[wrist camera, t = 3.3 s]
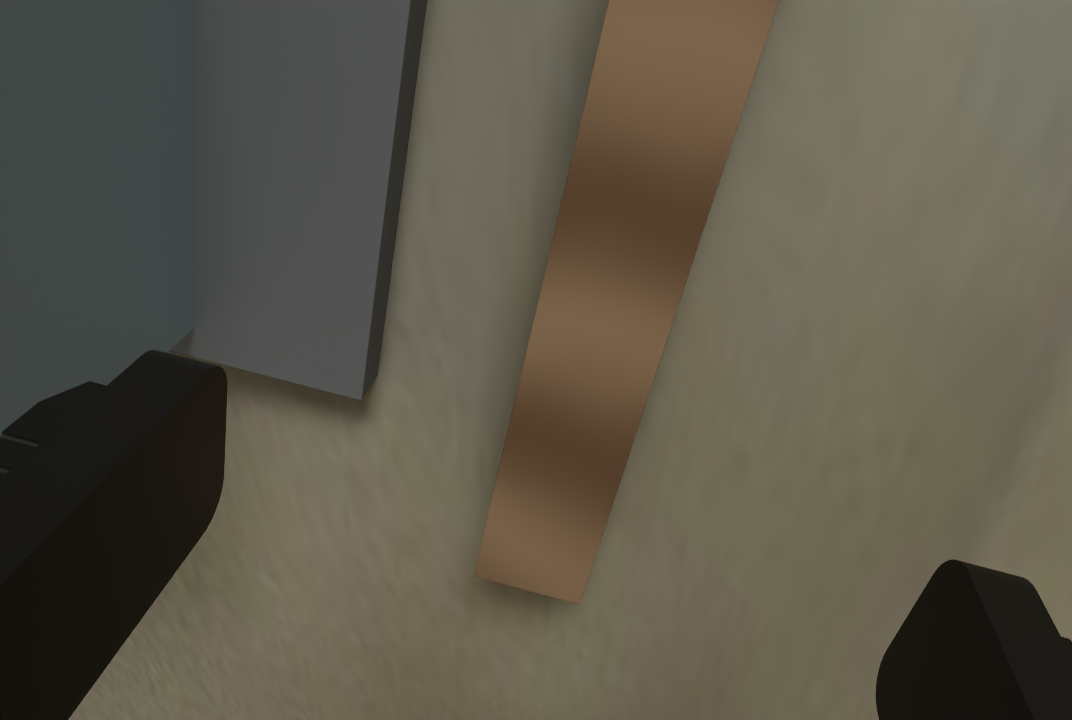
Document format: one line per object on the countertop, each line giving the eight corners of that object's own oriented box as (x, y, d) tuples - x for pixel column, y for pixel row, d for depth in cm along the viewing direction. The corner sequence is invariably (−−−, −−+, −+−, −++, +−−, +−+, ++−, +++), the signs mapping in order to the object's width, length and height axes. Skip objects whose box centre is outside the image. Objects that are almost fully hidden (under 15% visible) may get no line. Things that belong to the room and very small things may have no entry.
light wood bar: (728, -470, 16) (739, -554, 13) (896, -432, 16) (946, -507, 13) (496, 501, 28) (473, 576, 25) (590, 526, 28) (579, 604, 25)
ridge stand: (461, -265, 18) (154, -482, 7) (377, 374, 26) (173, 702, 15) (-85, -394, 18) (-1120, -780, 8) (-1, 277, 26) (-451, 534, 16)
